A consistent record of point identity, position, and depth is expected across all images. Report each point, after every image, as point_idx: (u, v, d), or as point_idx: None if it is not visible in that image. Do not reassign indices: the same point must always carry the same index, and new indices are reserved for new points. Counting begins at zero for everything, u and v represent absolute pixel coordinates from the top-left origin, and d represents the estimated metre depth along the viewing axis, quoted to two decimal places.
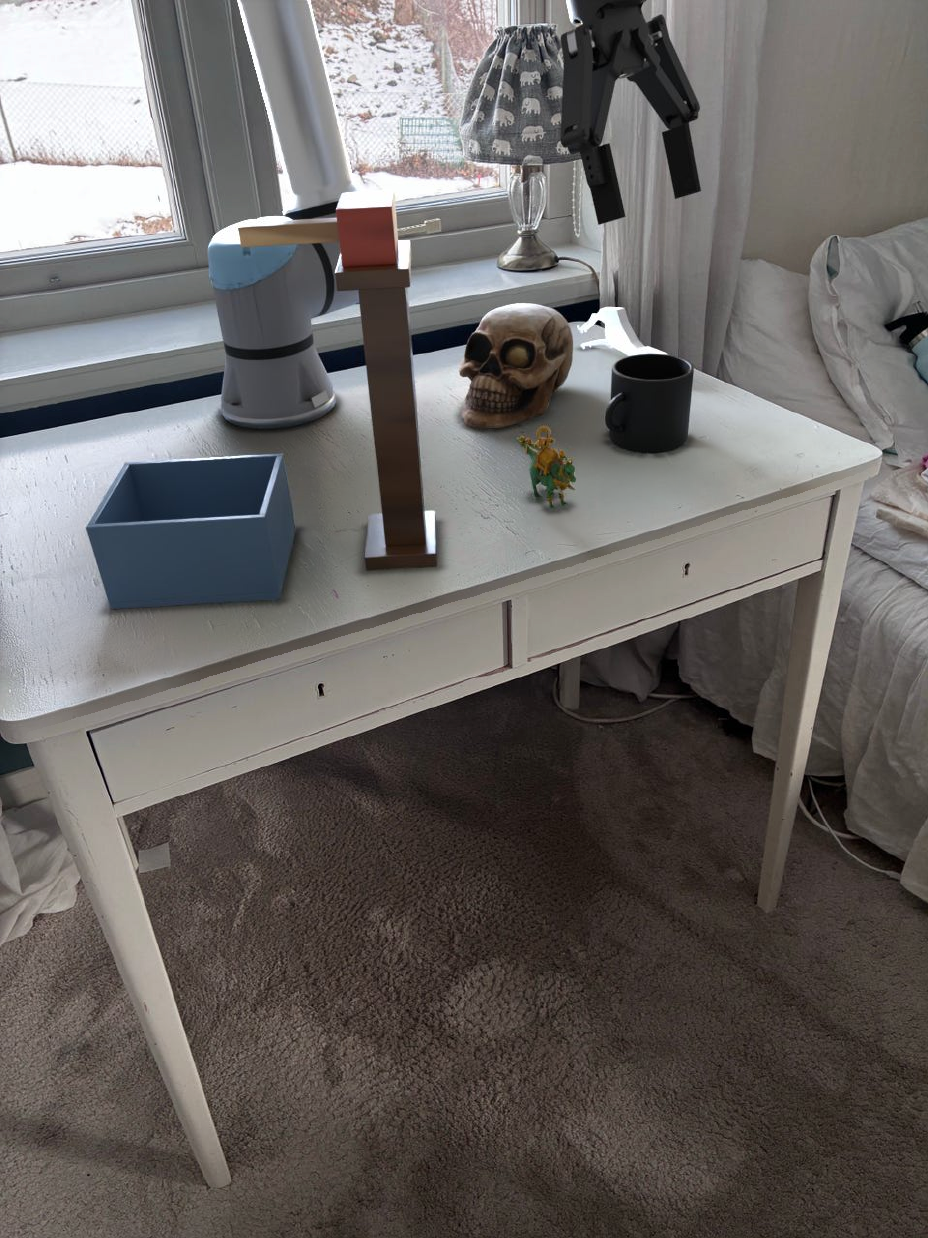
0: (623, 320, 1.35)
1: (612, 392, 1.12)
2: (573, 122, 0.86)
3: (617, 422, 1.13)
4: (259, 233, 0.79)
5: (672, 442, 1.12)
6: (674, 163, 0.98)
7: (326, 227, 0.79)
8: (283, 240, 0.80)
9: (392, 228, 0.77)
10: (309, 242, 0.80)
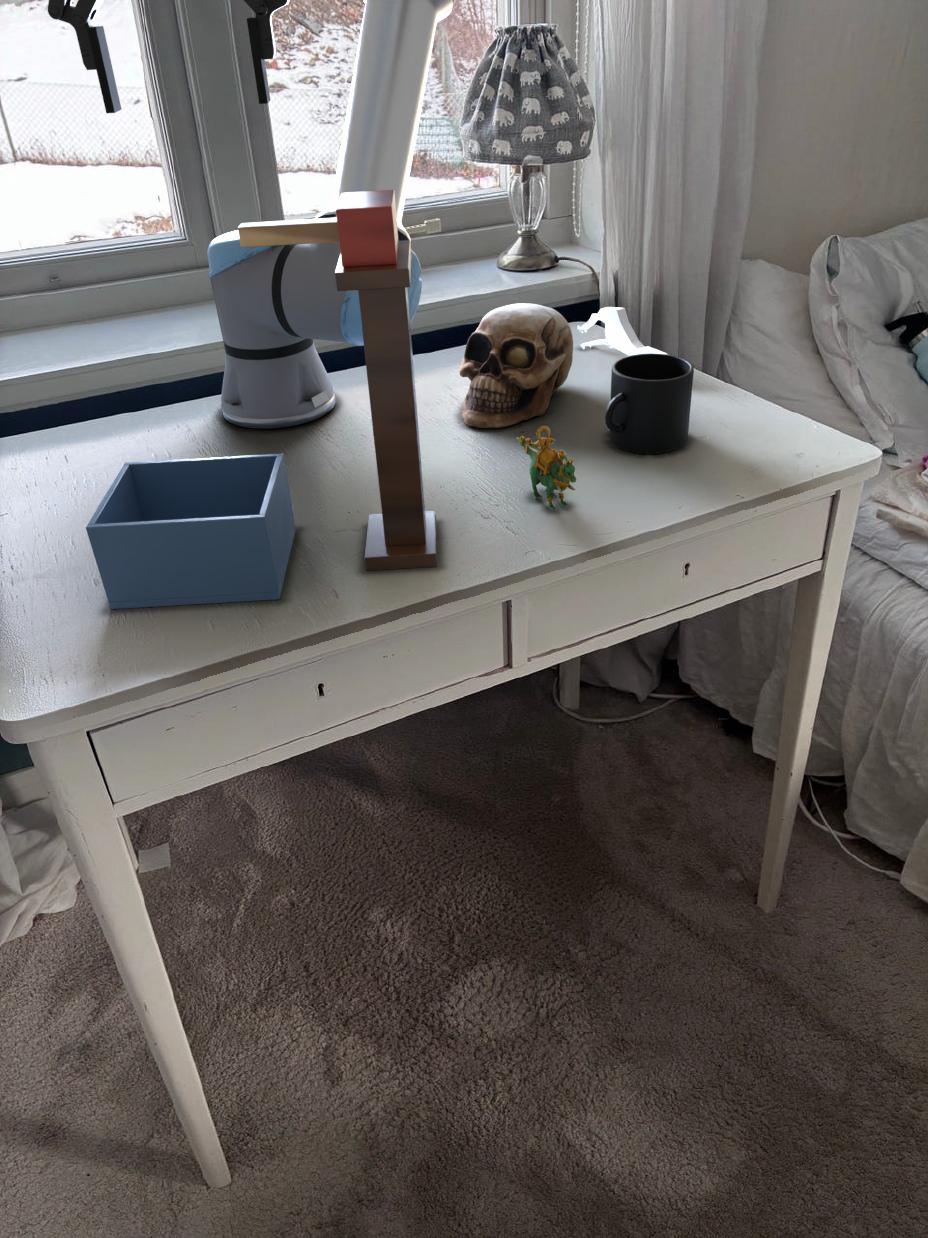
0: (623, 320, 1.35)
1: (612, 392, 1.12)
2: None
3: (617, 422, 1.13)
4: (259, 233, 0.79)
5: (672, 442, 1.12)
6: None
7: (326, 227, 0.79)
8: (283, 240, 0.80)
9: (392, 228, 0.77)
10: (309, 242, 0.80)
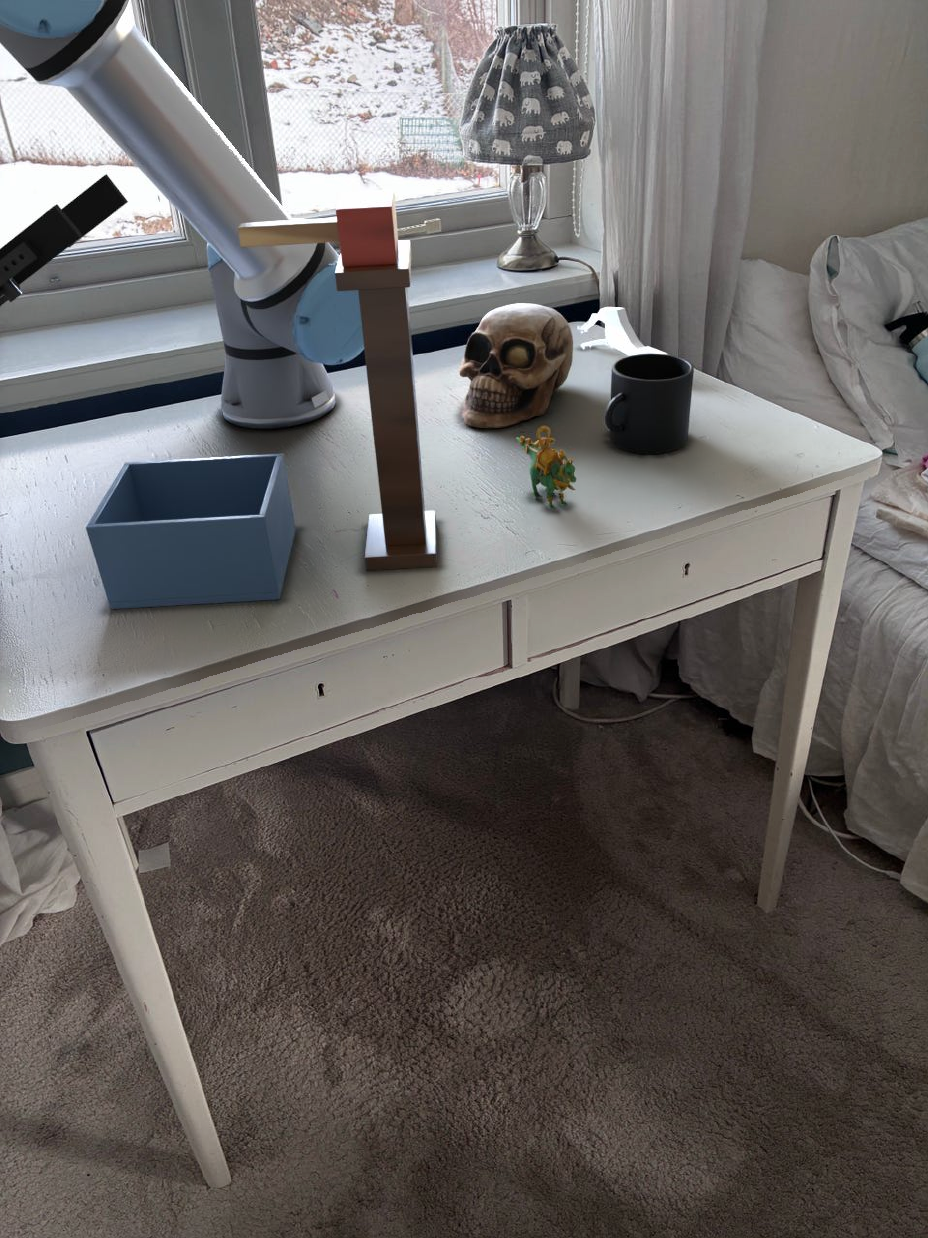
0: (623, 320, 1.35)
1: (612, 392, 1.12)
2: None
3: (617, 422, 1.13)
4: (259, 233, 0.79)
5: (672, 442, 1.12)
6: None
7: (326, 227, 0.79)
8: (283, 240, 0.80)
9: (392, 228, 0.77)
10: (309, 242, 0.80)
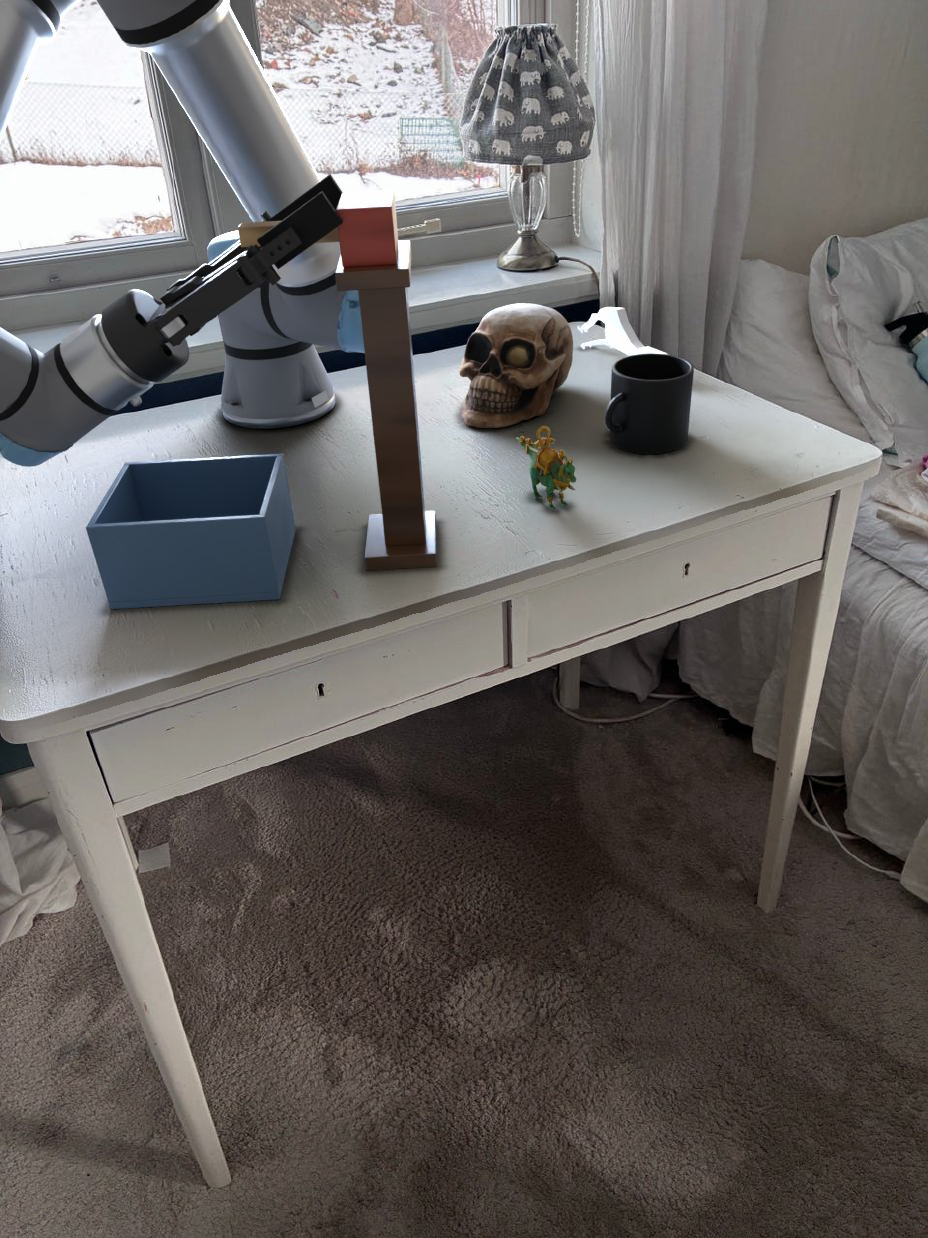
0: (623, 320, 1.35)
1: (612, 392, 1.12)
2: None
3: (617, 422, 1.13)
4: (259, 233, 0.79)
5: (672, 442, 1.12)
6: None
7: None
8: None
9: (392, 228, 0.77)
10: None
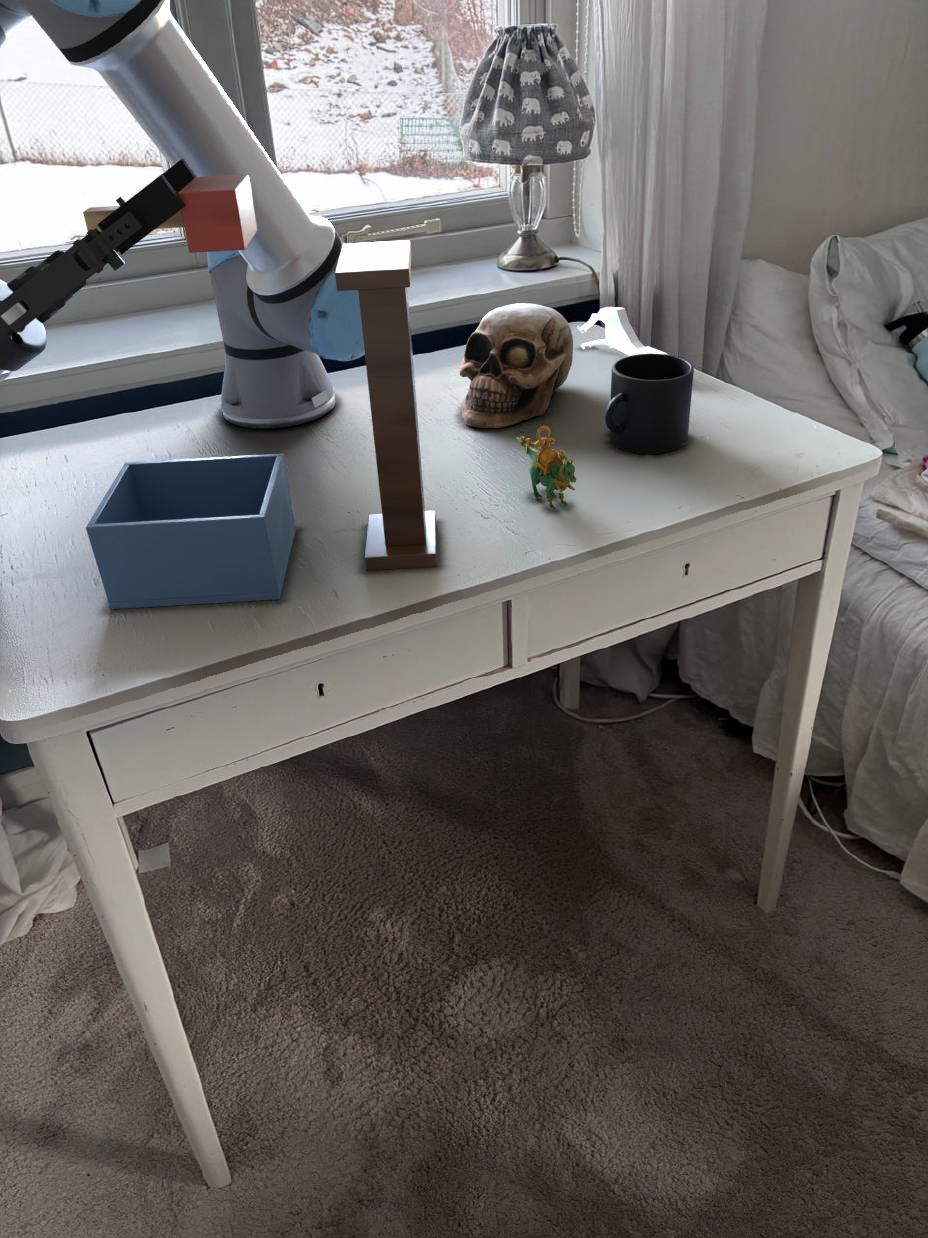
0: (623, 320, 1.35)
1: (612, 392, 1.12)
2: None
3: (617, 422, 1.13)
4: None
5: (672, 442, 1.12)
6: None
7: None
8: None
9: (237, 212, 0.75)
10: (158, 227, 0.78)
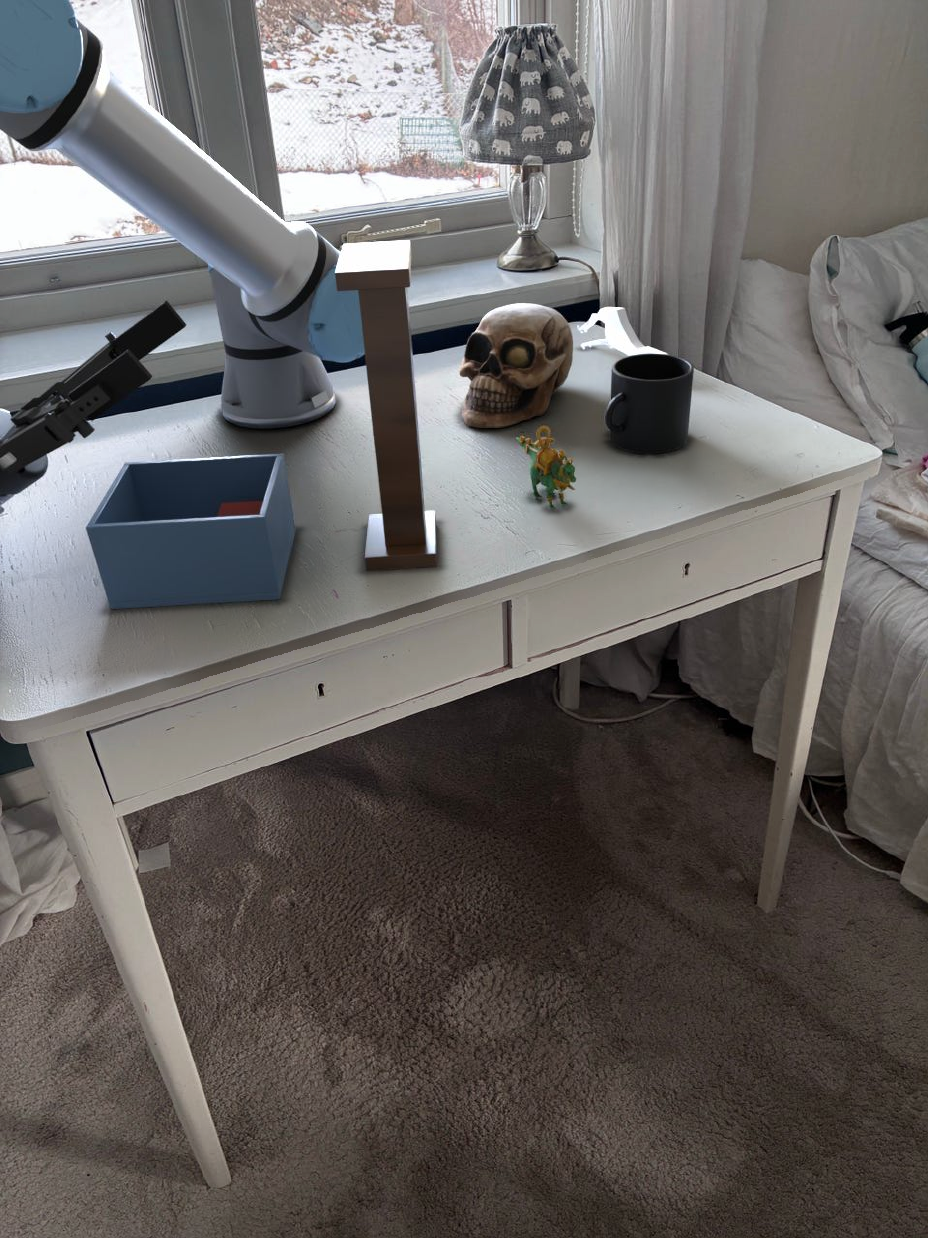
0: (623, 320, 1.35)
1: (612, 392, 1.12)
2: (115, 358, 0.93)
3: (617, 422, 1.13)
4: None
5: (672, 442, 1.12)
6: None
7: None
8: None
9: None
10: None
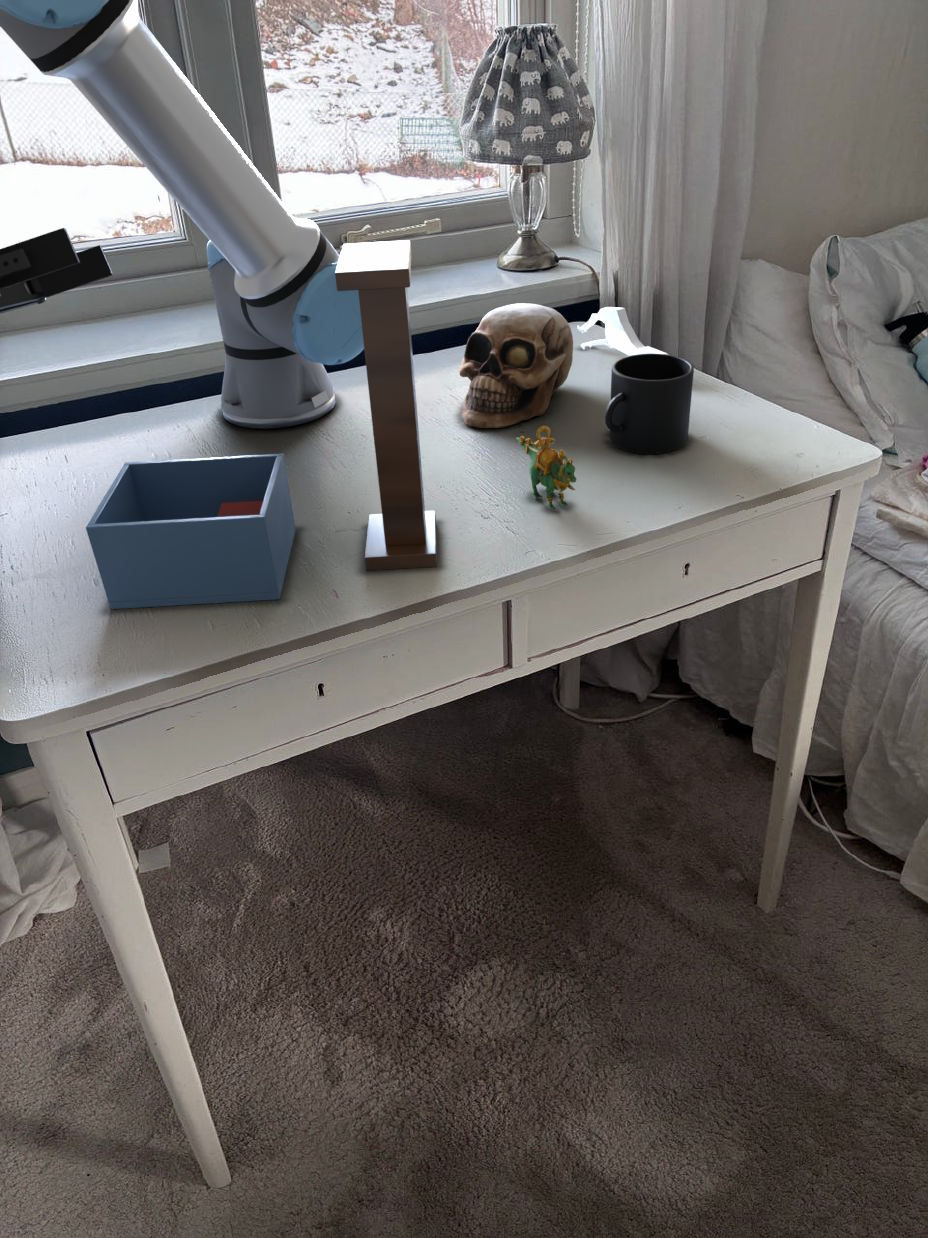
0: (623, 320, 1.35)
1: (612, 392, 1.12)
2: None
3: (617, 422, 1.13)
4: None
5: (672, 442, 1.12)
6: None
7: None
8: None
9: None
10: None
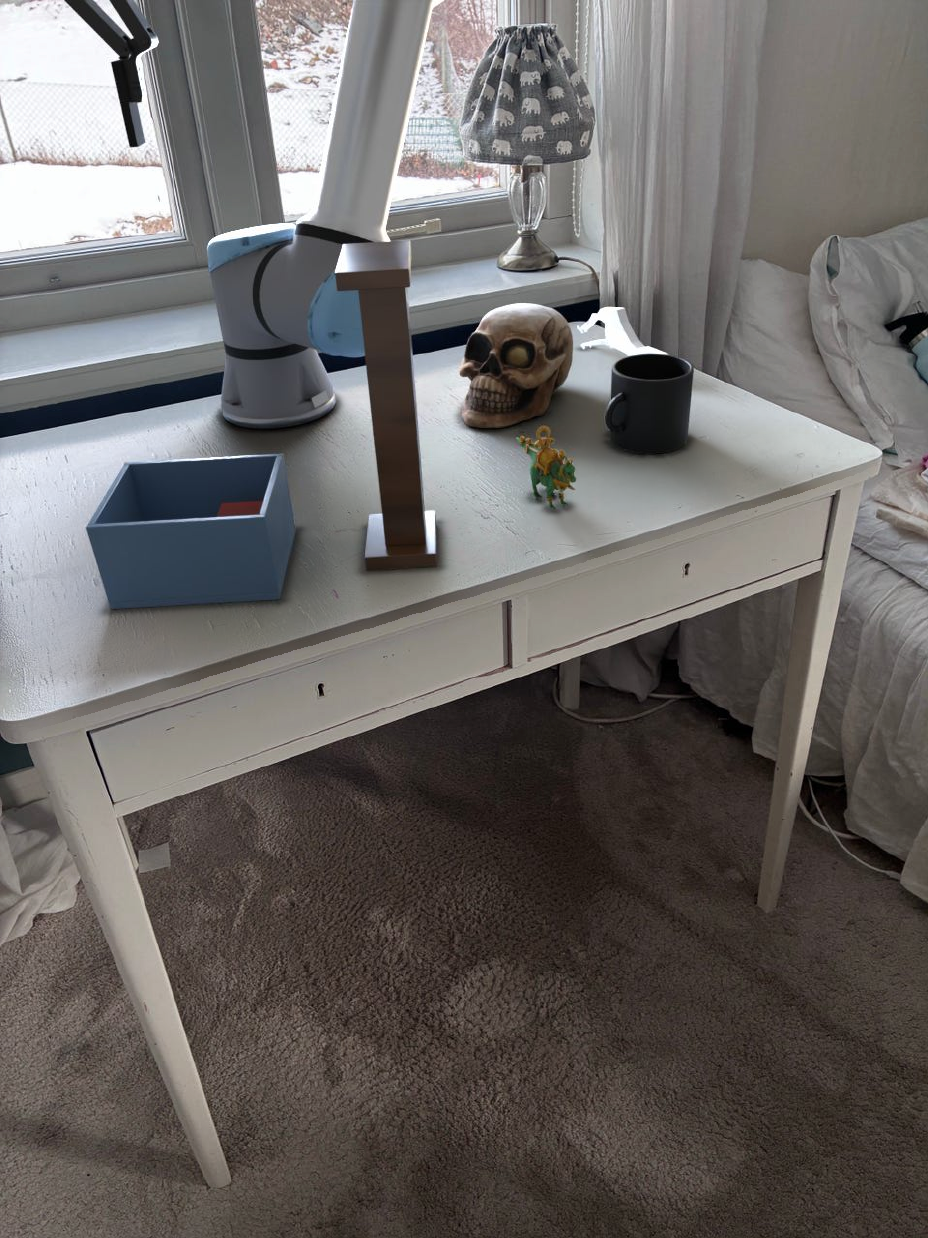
0: (623, 320, 1.35)
1: (612, 392, 1.12)
2: None
3: (617, 422, 1.13)
4: None
5: (672, 442, 1.12)
6: None
7: None
8: None
9: None
10: None
